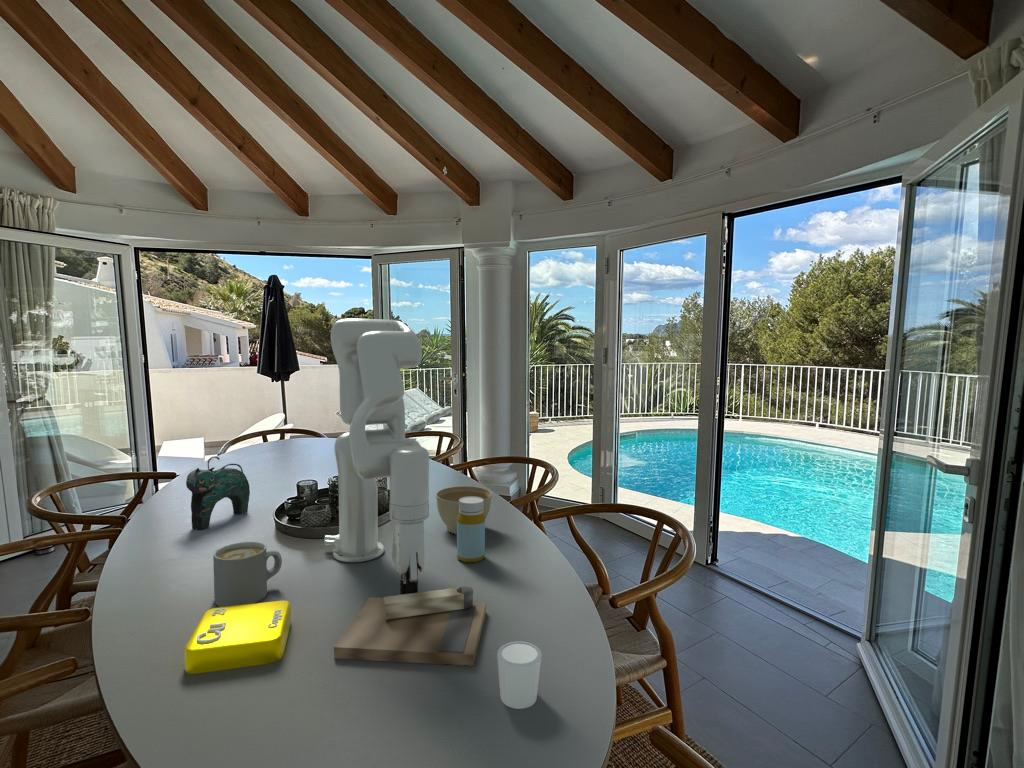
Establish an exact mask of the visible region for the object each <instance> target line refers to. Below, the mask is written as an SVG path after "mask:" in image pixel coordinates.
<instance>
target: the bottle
mask: <svg viewBox="0 0 1024 768" xmlns="http://www.w3.org/2000/svg"><path fill="white" fill-rule="evenodd" d="M483 508H484V500H483V499H482V498H480V497H474V496H470V497H463V498H460V499H459V514H458V517H457V534H456V557H457V558H458V559H459V561H460V560H461V561H460V562H462V561H463V563H467V562H469V563H468V564H470V562H474V563H478V562H480V561H482V560H483V559H484V558H485V555H486V550H485V549H486V545H485V544H486V519H485V516H484V513H483Z"/></svg>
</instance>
